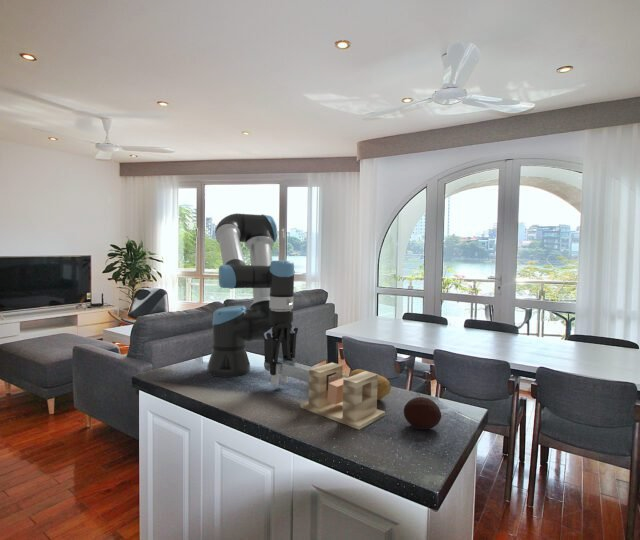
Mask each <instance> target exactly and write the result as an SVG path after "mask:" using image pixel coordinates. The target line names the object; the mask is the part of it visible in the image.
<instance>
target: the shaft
mask: <svg viewBox="0 0 640 540" xmlns="http://www.w3.org/2000/svg"><path fill="white" fill-rule="evenodd" d="M273 361H274V360H273ZM277 364H278V365H279V375H281V374H282V375H286V376H289V377H290V378H291V379H295V380H298V381H302V382H304V383H308V384H309V369H313V368H315V367H313V366H309V365H305V364H302V363H300V362H296V361H289V360H285V359H283V358H281V357H278V361H277ZM263 366H264V369H265V370H266V371H267V372H270V364H268V363H265V361H264V363H263ZM289 377H288V378H289ZM336 380H337V374H335V373H332V374H329V375H327V385H326V389H328V386H329V383H331V382H333V381H336Z"/></svg>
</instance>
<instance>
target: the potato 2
mask: <svg viewBox="0 0 640 540" xmlns="http://www.w3.org/2000/svg"><path fill="white" fill-rule="evenodd" d="M403 415H404V418H405V420H406V422H407V423H408V424H410V425H411V426H412V427H413V428H415V429H418V430H421V431H422V430H423V431H424V430H430V429H433V428H435V427H436V426H438V425H439V423H440V422H441V418H442V411H441V409H440V408H439V406H438V404H436V402H435V401H433V400H432V399H430V398H429V397H424V396H419V397H418V396H416V397H413V398H411V399H410V400H408V401H407V402H406V403H405V405H404V408H403Z"/></svg>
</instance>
